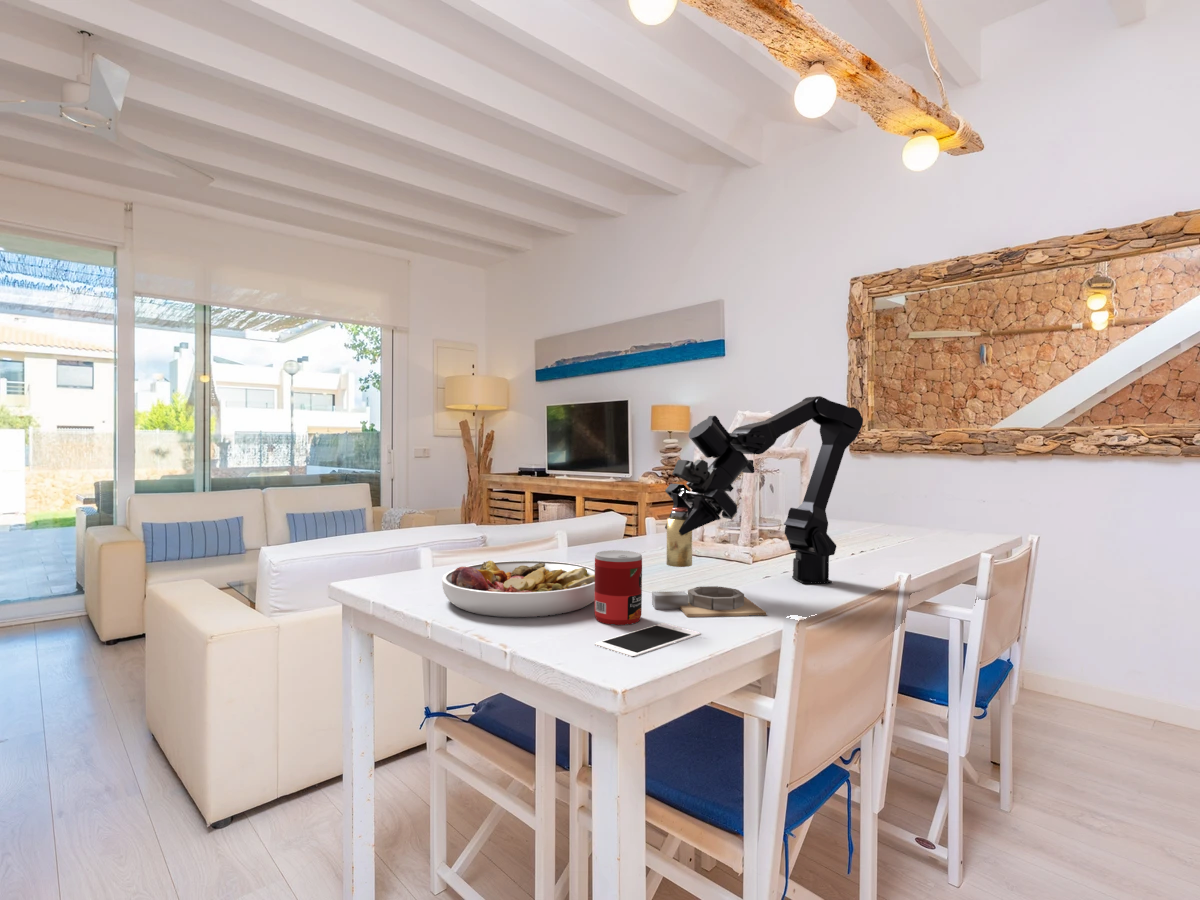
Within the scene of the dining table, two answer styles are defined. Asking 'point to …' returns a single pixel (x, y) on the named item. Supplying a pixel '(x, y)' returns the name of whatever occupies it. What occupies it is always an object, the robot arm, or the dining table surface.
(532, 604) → the bowl
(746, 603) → the socket
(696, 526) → the robot arm
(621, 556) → the canned food
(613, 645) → the cell phone
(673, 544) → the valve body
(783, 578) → the dining table surface
